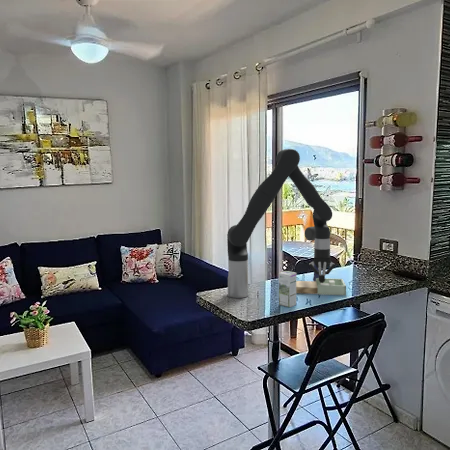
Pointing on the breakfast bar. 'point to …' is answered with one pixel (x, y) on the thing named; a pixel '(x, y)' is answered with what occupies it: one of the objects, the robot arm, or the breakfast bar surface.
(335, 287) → the tray
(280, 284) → the syrup box
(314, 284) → the board
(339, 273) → the breakfast bar surface
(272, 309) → the breakfast bar surface
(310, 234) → the rubber mallet
